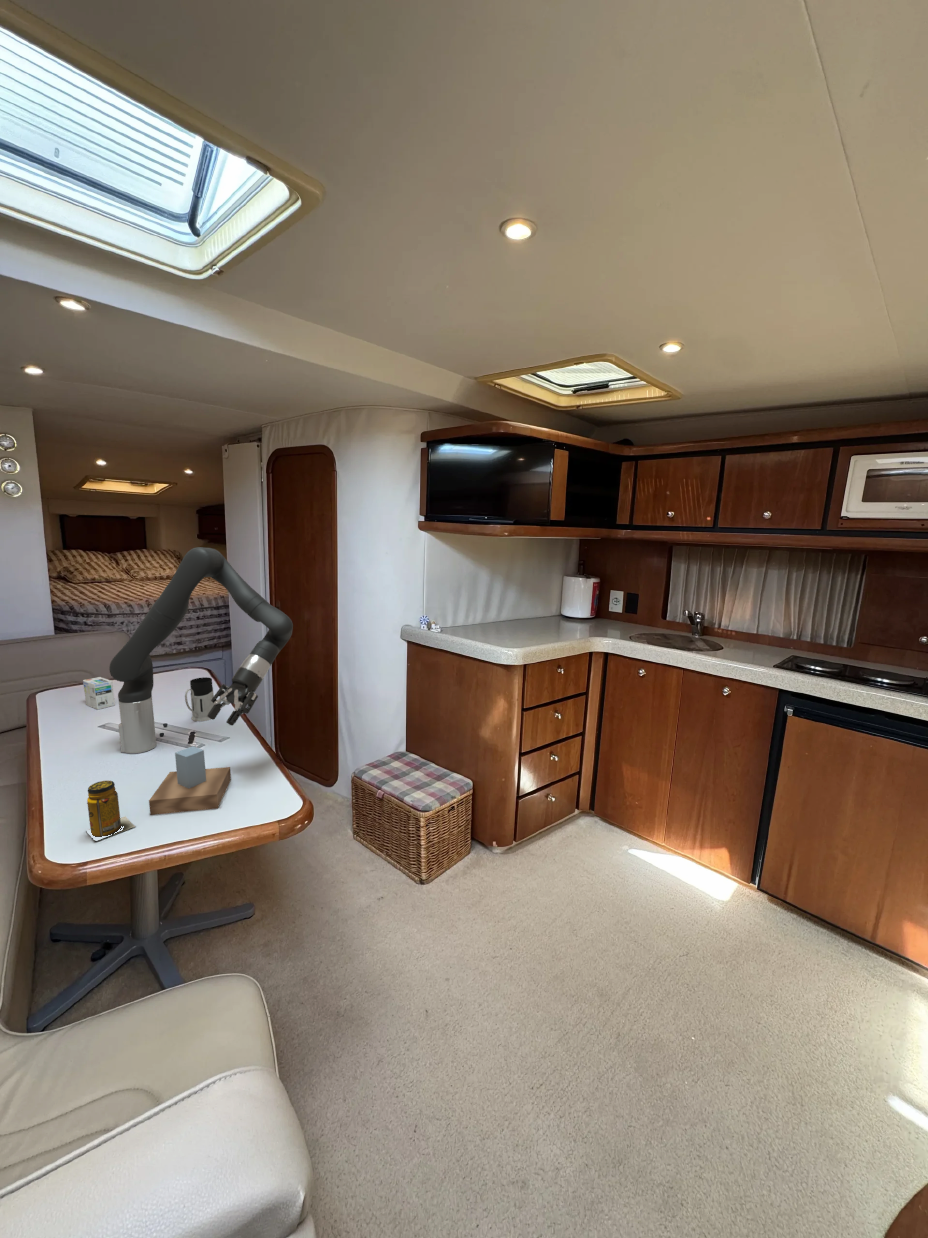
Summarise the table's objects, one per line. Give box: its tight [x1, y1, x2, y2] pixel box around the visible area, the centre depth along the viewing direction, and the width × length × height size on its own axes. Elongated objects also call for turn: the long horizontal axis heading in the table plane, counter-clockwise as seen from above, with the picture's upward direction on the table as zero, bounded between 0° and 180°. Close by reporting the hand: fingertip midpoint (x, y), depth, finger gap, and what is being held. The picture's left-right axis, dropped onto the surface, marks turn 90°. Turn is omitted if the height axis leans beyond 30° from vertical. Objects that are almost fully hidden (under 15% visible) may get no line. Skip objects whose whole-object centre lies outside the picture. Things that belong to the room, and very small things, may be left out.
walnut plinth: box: [148, 766, 232, 816], centre depth 140 cm, size 16×16×4 cm
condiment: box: [86, 780, 136, 837], centre depth 124 cm, size 7×8×12 cm
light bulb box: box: [82, 676, 116, 710], centre depth 209 cm, size 11×7×11 cm, turn 58°
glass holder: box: [184, 676, 215, 722], centre depth 195 cm, size 9×14×15 cm, turn 174°
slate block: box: [174, 745, 206, 788], centre depth 139 cm, size 5×5×9 cm
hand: (219, 721), depth 145 cm, fingers open, 8 cm apart
